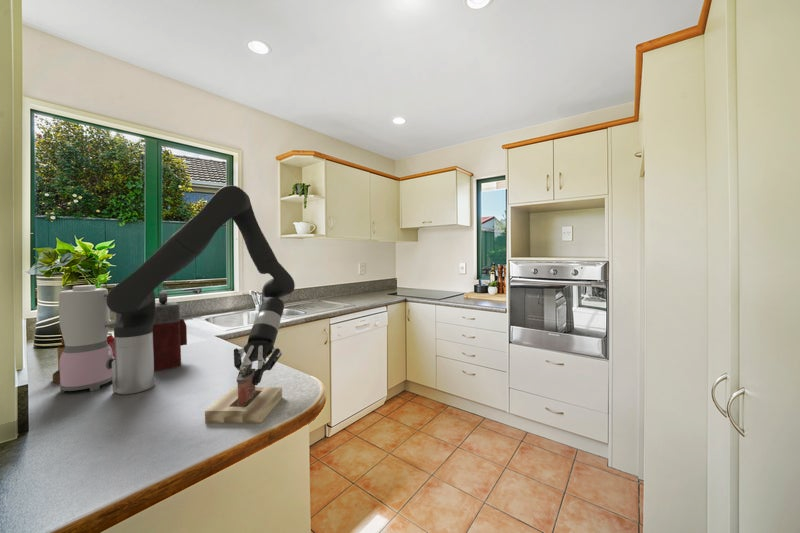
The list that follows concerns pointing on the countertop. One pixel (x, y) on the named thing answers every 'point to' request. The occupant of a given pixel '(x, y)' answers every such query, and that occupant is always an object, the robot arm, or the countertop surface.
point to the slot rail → (253, 413)
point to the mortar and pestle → (60, 350)
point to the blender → (85, 338)
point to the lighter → (246, 385)
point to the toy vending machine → (168, 334)
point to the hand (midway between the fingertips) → (247, 383)
